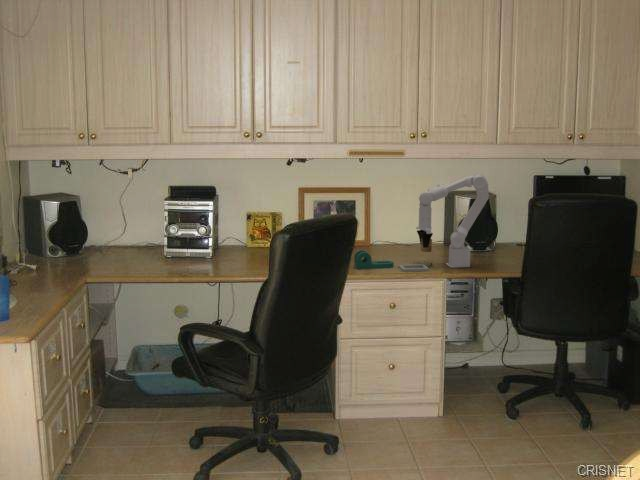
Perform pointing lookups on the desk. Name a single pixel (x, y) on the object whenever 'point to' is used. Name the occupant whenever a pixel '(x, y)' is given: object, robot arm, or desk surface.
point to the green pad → (425, 264)
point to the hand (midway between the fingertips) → (424, 246)
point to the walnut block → (427, 249)
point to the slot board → (413, 267)
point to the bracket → (369, 261)
